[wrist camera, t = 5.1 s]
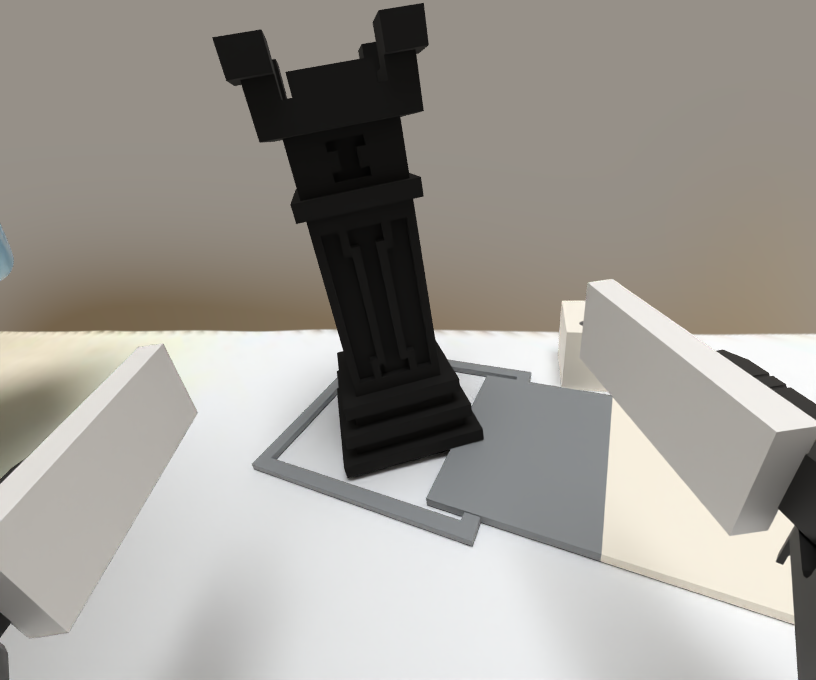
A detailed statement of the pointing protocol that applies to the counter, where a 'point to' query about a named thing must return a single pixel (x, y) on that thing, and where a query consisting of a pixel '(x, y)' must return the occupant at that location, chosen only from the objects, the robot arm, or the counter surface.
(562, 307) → the die
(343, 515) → the counter surface
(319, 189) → the chess piece
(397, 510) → the grey flat square frame
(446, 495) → the track
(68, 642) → the counter surface
